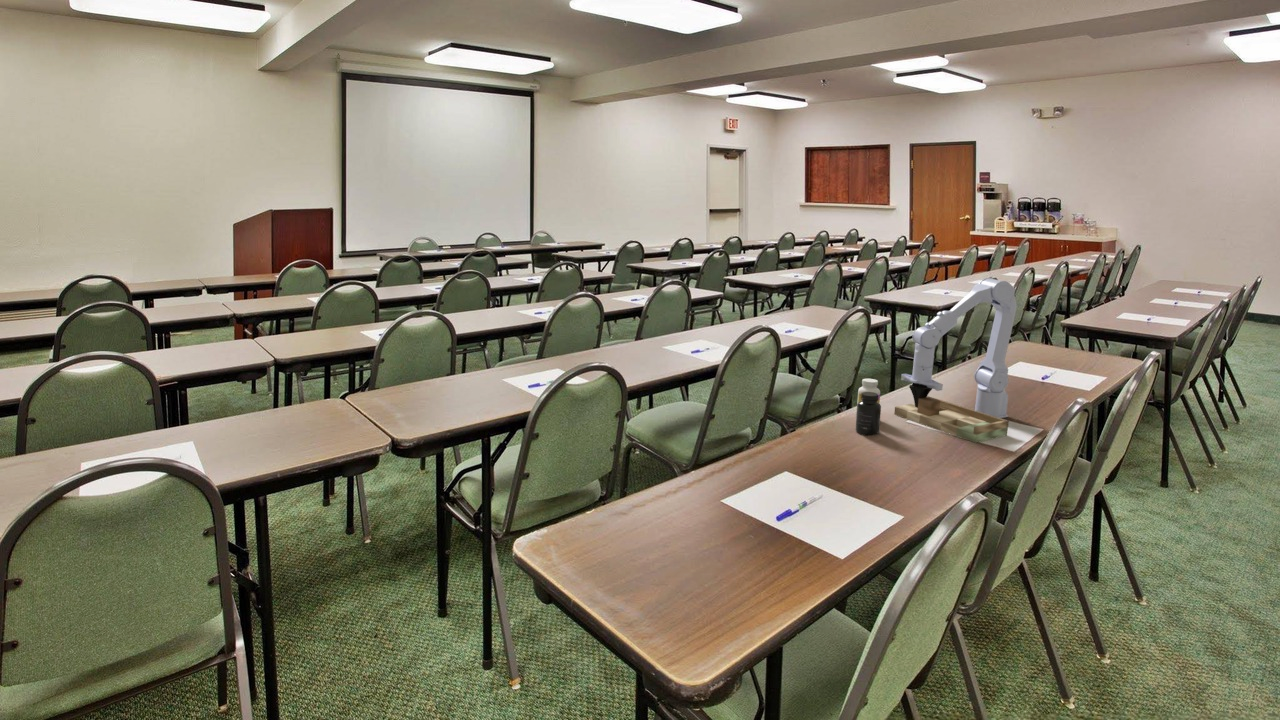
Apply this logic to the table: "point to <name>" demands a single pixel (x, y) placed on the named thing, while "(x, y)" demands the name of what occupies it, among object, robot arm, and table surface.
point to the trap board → (958, 421)
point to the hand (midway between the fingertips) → (918, 407)
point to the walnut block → (928, 406)
